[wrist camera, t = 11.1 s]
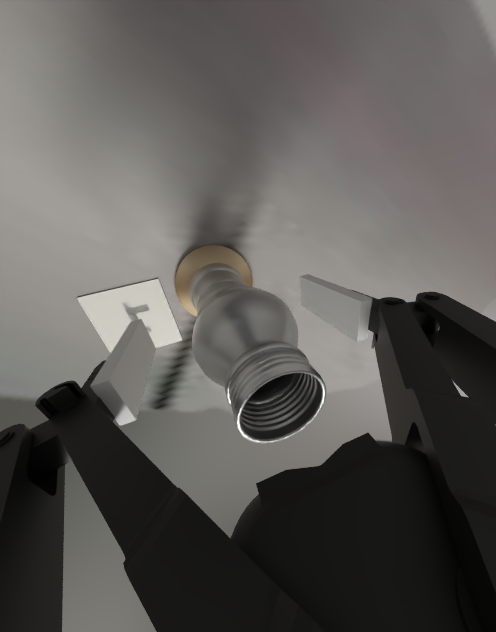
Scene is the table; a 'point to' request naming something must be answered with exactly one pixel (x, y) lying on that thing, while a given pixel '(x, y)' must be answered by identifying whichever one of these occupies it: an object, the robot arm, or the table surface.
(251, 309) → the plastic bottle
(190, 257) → the cork coaster
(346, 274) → the table surface
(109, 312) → the card
